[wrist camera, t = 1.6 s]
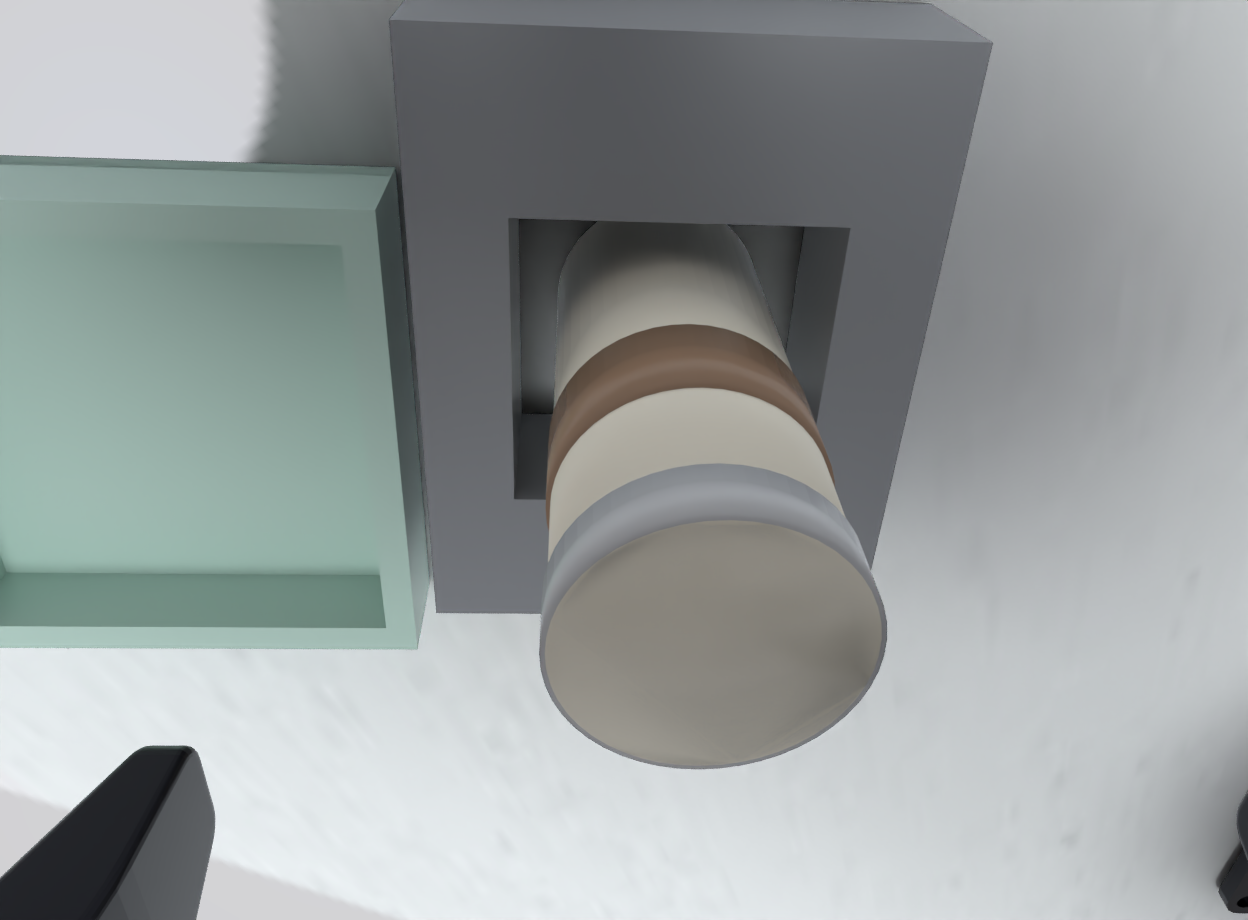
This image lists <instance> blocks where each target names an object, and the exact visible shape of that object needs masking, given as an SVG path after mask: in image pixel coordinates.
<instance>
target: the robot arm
mask: <svg viewBox="0 0 1248 920" xmlns="http://www.w3.org/2000/svg"><path fill="white" fill-rule="evenodd" d="M1237 828H1238V833H1239V837H1240V840H1241V843H1242V846H1243V848H1244V849H1243V850H1242V852H1241V854H1240V855H1239V857H1238V859H1237V860H1236V862H1235V863H1234V865H1233V867H1232V868H1231V870H1230V871H1229V873H1228V875H1227V876H1226V878H1225V880H1224V881H1223V883H1222V884H1221V886H1220V888H1219V891H1218V892H1219V894H1220V896H1221V898H1222V900H1223V901H1224V903H1225V905H1226V907H1227V908H1228V910H1229V911H1231V912H1233V913H1248V791H1247V792H1246V794H1245V796H1244V798H1243V799H1242V801H1241V803H1240V805H1239V807H1238V812H1237ZM214 832H215V811H214V807H213V803H212V799H211V796H210V792H209V789H208V785H207V782H206V778H205V775H204V771H203V767H202V764H201V760H200V757H199V755H198V753H197V752H196V751H195V749H193V748H192V747H189V746H146V747H143V748H141V749H139V750H137V751H135V752H134V753H133V754H132V755H130V756H129V757H128V758H127V759H126V760H125V761H124V762H123V763H122V764H121V765H120V766H119V767H118V768H116V769H115V770H114V771H113V772H112V773H111V774H110V775H109V776H108V777H107V778H106V779H105V780H104V781H103V782H102V783H101V784H99V785H98V786H97V787H96V788H95V789H94V790H93V791H92V792H91V793H90V794H89V795H88V796H87V797H86V798H85V799H83V800H82V801H81V802H80V803H79V804H78V805H77V806H76V807H75V808H74V809H73V810H72V811H71V812H70V813H69V814H68V815H66V816H65V817H64V818H63V819H62V820H61V821H60V822H59V823H58V824H57V825H56V826H55V827H54V828H53V829H52V830H51V831H49V832H48V833H47V834H46V835H45V836H44V837H43V838H42V839H41V840H40V841H39V842H38V843H37V844H36V845H34V847H32V848H31V849H30V850H29V851H28V852H27V853H26V854H25V855H24V856H23V857H22V858H21V859H20V860H19V861H18V862H16V863H15V864H14V865H13V866H12V867H11V868H10V869H9V870H8V871H7V872H6V873H5V874H4V875H3V876H1V878H0V920H196V917H197V913H198V908H199V904H200V899H201V894H202V890H203V885H204V881H205V876H206V872H207V867H208V863H209V858H210V853H211V849H212V844H213V839H214Z"/></svg>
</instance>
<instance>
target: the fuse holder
mask: <svg viewBox="0 0 1248 920" xmlns="http://www.w3.org/2000/svg"><path fill="white" fill-rule="evenodd" d="M389 25H390V38H391V50H392V63H393V76H394V88H395V101H396V113H397V126H398V138H399V151H400V163H401V176H402V188H403V201H404V213H405V226H406V239H407V251H408V264H409V276H410V289H411V301H412V314H413V326H414V339H415V351H416V364H417V376H418V389H419V402H420V414H421V427H422V439H423V452H424V464H425V477H426V489H427V502H428V514H429V527H430V540H431V552H432V565H433V577H434V590H435V602H436V613H529V614H541V602H542V588H543V579H544V575H545V571H546V568H547V564H548V548H549V530H548V526H547V520H546V485H547V462H548V440H549V427H550V423H551V418H552V414H522V397H521V330H520V264H519V219H553V220H589V221H625V222H661V223H698V224H734V225H770V226H804V233H803V239H802V246H801V253H800V260H799V267H798V273H797V280H796V287H795V294H794V300H793V307H792V314H791V321H790V327H789V334H788V341H787V348H786V356H787V358H788V361H789V364H790V367H791V369H792V372H793V374H794V375H795V376H796V378H797V380H798V382H799V383H800V385H801V387H802V389H803V391H804V394H805V396H806V399H807V401H808V404H809V407H810V409H811V412H812V415H813V417H814V420H815V423H816V425H817V428H818V431H819V433H820V436H821V439H822V441H823V444H824V447H825V450H826V452H827V455H828V458H829V460H830V463H831V466H832V470H833V475H834V480H835V490H836V493H837V495H838V498H839V501H840V504H841V506H842V509H843V512H844V515H845V517H846V519H847V520H848V521H849V523H850V525H851V526H852V528H853V530H854V531H855V533H856V534H857V536H858V539H859V542H860V544H861V547H862V549H863V552H864V554H865V557H866V560H867V562H868V565H869V568H870V570H871V568H872V563H873V559H874V555H875V550H876V546H877V542H878V537H879V533H880V529H881V524H882V520H883V516H884V512H885V507H886V503H887V499H888V494H889V490H890V486H891V481H892V477H893V473H894V468H895V464H896V460H897V455H898V451H899V447H900V442H901V438H902V434H903V429H904V425H905V421H906V416H907V412H908V408H909V403H910V399H911V395H912V390H913V386H914V382H915V377H916V373H917V369H918V364H919V360H920V356H921V351H922V347H923V343H924V339H925V334H926V330H927V326H928V321H929V317H930V313H931V308H932V304H933V300H934V295H935V291H936V287H937V282H938V278H939V274H940V269H941V265H942V261H943V256H944V252H945V248H946V243H947V239H948V235H949V230H950V226H951V222H952V217H953V213H954V209H955V204H956V200H957V196H958V191H959V187H960V183H961V178H962V174H963V170H964V166H965V161H966V157H967V153H968V148H969V144H970V140H971V135H972V131H973V127H974V122H975V118H976V114H977V109H978V105H979V101H980V96H981V92H982V88H983V83H984V79H985V75H986V70H987V66H988V62H989V57H990V53H991V49H992V44H993V43H992V42H991V41H989V40H988V39H986V38H984V37H983V36H981V35H980V34H978V33H977V32H975V31H973V30H972V29H970V28H969V27H967V26H965V25H964V24H962V23H961V22H959V21H957V20H956V19H954V18H953V17H951V16H949V15H948V14H946V13H945V12H943V11H942V10H940V9H938V8H937V7H935V6H934V5H932V4H921V3H896V2H871V1H847V0H404V1H403V3H402V4H401V5H400V6H399V8H398V9H397V10H396V11H395V13H394V14H393V15H392V17H391V18H390V19H389Z"/></svg>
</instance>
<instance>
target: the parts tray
mask: <svg viewBox="0 0 1248 920" xmlns="http://www.w3.org/2000/svg"><path fill="white" fill-rule="evenodd" d="M429 583H430V580H429V568H428V556H427V543H426V531H425V519H424V507H423V495H422V483H421V471H420V459H419V447H418V435H417V423H416V411H415V398H414V386H413V374H412V362H411V350H410V338H409V326H408V314H407V302H406V290H405V278H404V266H403V253H402V241H401V229H400V217H399V205H398V193H397V181H396V169H395V167H372V166H339V165H306V164H273V163H240V162H207V161H173V160H171V161H170V160H141V159H140V160H139V159H107V158H75V157H40V156H9V155H0V648H208V649H418V643H419V638H420V632H421V627H422V622H423V616H424V611H425V605H426V600H427V594H428V589H429Z"/></svg>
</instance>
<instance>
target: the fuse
mask: <svg viewBox="0 0 1248 920" xmlns="http://www.w3.org/2000/svg"><path fill="white" fill-rule="evenodd" d="M546 520H547V526H548V530H549V548H548V564H547V568H546V571H545V575H544V579H543V588H542V602H541V626H540V649H539V656H540V666H541V672H542V676H543V680H544V683H545V686H546V688H547V690H548V693H549V695H550V697H551V699H552V701H553V702H554V704H555V705H556V707H557V708H558V709H559V711H560V712H561V714H562V715H563V716H564V717H565V718H566V719H567V720H568V721H569V722H570V723H571V724H572V725H573V726H574V727H575V728H576V729H577V730H579V731H580V732H581V733H582V734H584V735H585V736H586V737H587V738H589V739H591V740H592V741H594V742H595V743H597V744H599V745H600V746H602V747H604V748H606V749H608V750H610V751H613V752H615V753H617V754H619V755H622V756H625V757H628V758H631V759H633V760H636V761H640V762H644V763H648V764H653V765H657V766H664V767H672V768H681V769H714V768H725V767H733V766H740V765H745V764H749V763H754V762H758V761H762V760H765V759H768V758H772V757H775V756H778V755H781V754H783V753H786V752H788V751H790V750H793V749H795V748H798V747H800V746H802V745H803V744H805V743H807V742H809V741H811V740H813V739H815V738H817V737H818V736H820V735H821V734H822V733H824V732H825V731H827V730H828V729H830V728H831V727H833V726H834V725H835V724H836V723H838V722H839V721H840V720H841V719H842V718H844V717H845V716H846V715H847V714H848V713H849V712H850V711H851V710H852V709H853V708H854V707H855V706H856V705H857V704H858V703H859V701H860V700H861V699H862V697H863V696H864V695H865V693H866V692H867V691H868V689H869V688H870V686H871V685H872V683H873V681H874V679H875V677H876V675H877V673H878V671H879V669H880V666H881V663H882V660H883V657H884V653H885V647H886V641H887V620H886V615H885V610H884V605H883V603H882V600H881V597H880V595H879V592H878V589H877V587H876V584H875V581H874V578H873V576H872V573H871V570H870V568H869V565H868V562H867V560H866V557H865V554H864V552H863V549H862V547H861V544H860V542H859V539H858V536H857V534H856V533H855V531H854V530H853V528H852V526H851V525H850V523H849V521H848V520H847V519H846V517H845V515H844V512H843V509H842V506H841V504H840V501H839V498H838V495H837V493H836V490H835V480H834V475H833V470H832V466H831V463H830V460H829V458H828V455H827V452H826V450H825V447H824V444H823V441H822V439H821V436H820V433H819V431H818V428H817V425H816V423H815V420H814V417H813V415H812V412H811V409H810V407H809V404H808V401H807V399H806V396H805V394H804V391H803V389H802V387H801V385H800V383H799V382H798V380H797V378H796V376H795V375H794V374H793V372H792V369H791V367H790V364H789V361H788V358H787V356H786V353H785V350H784V347H783V345H782V342H781V339H780V337H779V334H778V331H777V328H776V326H775V323H774V320H773V317H772V315H771V312H770V309H769V306H768V304H767V301H766V298H765V295H764V293H763V290H762V287H761V284H760V282H759V279H758V276H757V274H756V271H755V268H754V265H753V263H752V260H751V258H750V255H749V253H748V251H747V249H746V248H745V246H744V244H743V242H742V241H741V240H740V238H739V237H738V236H737V235H736V233H735V232H734V231H733V230H732V229H731V228H730V227H729V226H728V225H727V224H698V223H661V222H625V221H598V222H596V223H595V224H594V225H593V226H591V227H590V228H589V229H588V230H587V231H586V232H585V233H584V234H583V235H582V236H581V237H580V238H579V240H578V241H577V242H576V244H575V245H574V246H573V248H572V249H571V251H570V253H569V255H568V257H567V258H566V261H565V263H564V266H563V269H562V271H561V275H560V280H559V286H558V303H557V330H556V357H555V384H554V411H553V414H552V418H551V423H550V427H549V440H548V462H547V485H546Z"/></svg>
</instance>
